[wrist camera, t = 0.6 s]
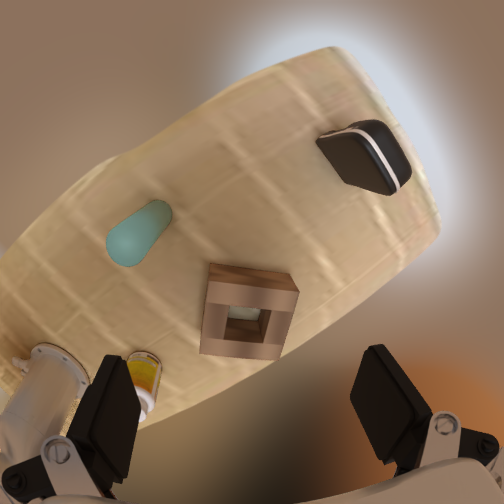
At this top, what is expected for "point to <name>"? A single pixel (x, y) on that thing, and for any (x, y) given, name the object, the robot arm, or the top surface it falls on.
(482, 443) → the robot arm
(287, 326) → the socket block
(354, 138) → the battery charger
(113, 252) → the dowel
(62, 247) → the top surface
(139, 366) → the supplement bottle
